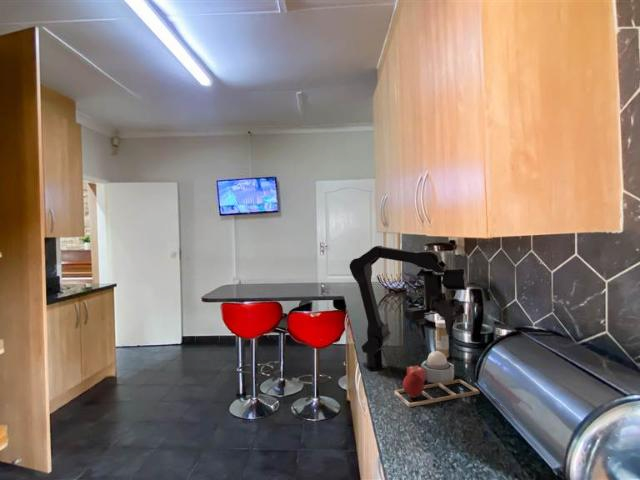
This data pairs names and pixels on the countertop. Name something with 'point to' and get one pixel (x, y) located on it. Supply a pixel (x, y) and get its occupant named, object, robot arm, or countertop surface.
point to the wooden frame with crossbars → (440, 397)
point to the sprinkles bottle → (442, 337)
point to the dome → (437, 361)
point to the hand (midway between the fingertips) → (436, 337)
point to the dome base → (433, 373)
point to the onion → (413, 384)
